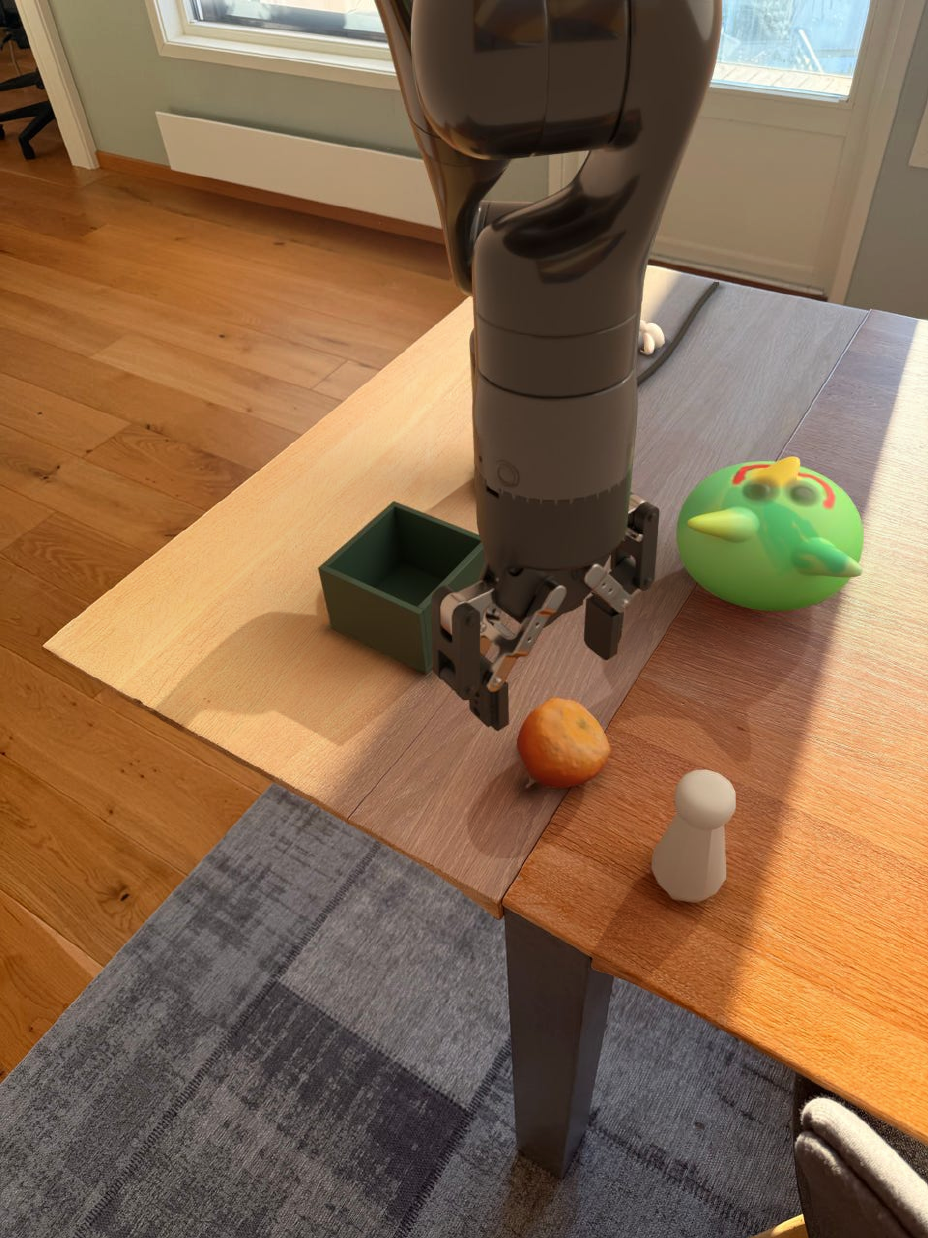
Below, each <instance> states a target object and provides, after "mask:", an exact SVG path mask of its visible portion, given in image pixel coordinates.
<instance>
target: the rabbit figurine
mask: <svg viewBox="0 0 928 1238" xmlns="http://www.w3.org/2000/svg"><path fill="white" fill-rule="evenodd" d="M639 332H641V336H642V339H643V350H641V349H639V352H640V353H642V354H644V355H646V356H649V355H651V354H653V353H654V350H659V349H661V348H662V347H663V346H664V345H665V344H666V342H665V335H664V334H665V333H664V332H663V330H662V328H661V327H660V326H659V325H658V324H656V323H653V322H647V323H646V321H645V320H643V319H642V318H640V328H639Z"/></svg>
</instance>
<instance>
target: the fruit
mask: <svg viewBox="0 0 928 1238" xmlns="http://www.w3.org/2000/svg"><path fill="white" fill-rule="evenodd" d="M516 744H517V745H516V747H517V748H516V749H517V752H518V754H519V756H520V759H521V762H522V763H523V766H524V770H525V771H526V773H527V776H528V778H529V781H528V783H527V784H526V785H525V788H526V789H529V787H530V788H531V786H532V785H534V783H537V784H539V785H540V786H542V787H547V788H552V789H559V790H560V789H561V790H562V789H569V788H572V787H576V786H581V785H582V784H584V783H587V782H589V781H591V780H593V779H594V778H595V777H597V776H598V775H599V774H600V773H601V772H602V771H603V769H605V767H606V764H607V761H608V759H609V756H610V755H611V751H612V749H611V746H610V744H609V739H608V737H607V735H606V733H605V731H604V730H603V728H602V726H601V725H600V723H599V722H598V720H597V719H596V718H595V717H594V716H593V714H591V712H590V711H589V710H588V709H587V708H586V707H585V706H584V705H582V704H581V703H579V702H578V701H576V700H573V699H569V698H567V699H566V698H565V699H563V698H561V697H551V698H548V699H547V700H546V701H544V702H543V703H542V704H541V705H538V706H537V707H535V708H534V709H532V710H531V711H530V712H529V713H528V715H527V716H526V717H525V719H524V721H523V722H522V724H521V727H520V728H519V731H518V735H517V739H516Z"/></svg>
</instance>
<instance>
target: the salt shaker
mask: <svg viewBox="0 0 928 1238" xmlns="http://www.w3.org/2000/svg"><path fill="white" fill-rule="evenodd" d="M736 798H737V797H736V790H735V788H734V786H733V785H732V783H731V780H729V779H728V778H726V777H725V776H724V775H722V774H721V773H720V772H719V773H718V772H716V771H713V770H710V769H694V770H692V771H690V772H688V773H685V774H684V775H682V777H681V779H680V780H679V782H678V783H677V785H676V786H675V788H674V799H673V803H674V804H673V805H674V808H675V809H676V811H675V813H674V815H673V817H672V819H671V821H670V823H669V824H668V826H667V828H666V830H665V831H664V833H663V835H662V836H661V837H660V840H659V841H658V843H657V844H656V846H655V847H654V849H653V850H652V854H651V856H652V857H651V871H652V874H653V876H654V878H655V880H656V882H657V884H658V885H659V886H660V887H661V888H662V889H663V890H664V891H665V892H666V893H667V894H668V895H669V897H670V898H671V900H674V901H681V902H688V903H693V904H698V903H700V902H703V901H705V900H707V899H709V898H711V897H712V896H715V895H716V894H717V893H719V891H720V889H721V887H722V886H723V884H724V882H725V881H726V880H727V859H726V858H727V856H726V831H725V828H726V827H725V825H726V824H728V823H729V821H730V820H731V818H732V817H733V815H734V814H735V812H736V809H737V802H736V800H737V799H736Z"/></svg>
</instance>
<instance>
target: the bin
mask: <svg viewBox="0 0 928 1238" xmlns="http://www.w3.org/2000/svg"><path fill="white" fill-rule="evenodd" d="M484 563H485V552H484V548H483V545H482V542H481V539H480V536H479V533H475V532H473V531H471V530H468V529H466V528H463V527H461V526H458V525H456V524H453V523H450V522H448V521H446V520H444V519H440V518H438V517H436V516H433V515H431V514H428V513H425V512H423V511H420V510H418V509H415V508H413V507H411V506H408V505H405V504H404V503H400V502H397V501H395V500H392V501H391V503H389V504H388V505H387V506H386V507H385V508H384V509H382V510H381V512H379V513H378V514H376V516H375V517H373V518H372V519H371V520H370V521H369V522H368V523H367V524H365V525H364V526H363V527H362V528H361V529H360V530H359V531H357V532H356V534H355V535H353V536H352V537H351V538H350V539H349V540H348V541H346V542H345V543H344V544H343V545H342V546H341V547H340V548H338V550H337V551H335V552H334V553H333V554H331V556H330V557H328V558H327V559H326V560H325V561H324V562H323V563H322V564H320V565H319V566H318V567H317V571H318V576H319V581H320V583H321V588H322V593H323V597H324V602H325V606H326V610H327V615H328V620H329V624H330V628H331V629H333V630H334V631H336V632H338V633H339V634H341V635H344V636H346V637H349V638H350V639H353V640H355V641H356V642H359V643H361V644H363V645H365V646H367V647H369V648H371V649H373V650H375V651H377V652H379V653H381V654H383V655H385V656H386V657H389V658H390V659H393V660H395V661H397V662H399V663H402V664H403V665H406V666H407V667H410V668H411V669H414V670H416V671H418V672H420V673H422V674H424V675H428V673H430V671H431V670H433V648H432V612H431V598H432V595H433V593H434V592H435V591H436V589H438V588H439V587H441V586H444V585H446V586H448V587H450V588H451V589H452V590H453V591H455V592H459V591H461V590H463V589H465V588H467V587H469V586H471V585H473V584H475V583H478V582H479V577H480V574H481V572H482V569H483V566H484Z"/></svg>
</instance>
